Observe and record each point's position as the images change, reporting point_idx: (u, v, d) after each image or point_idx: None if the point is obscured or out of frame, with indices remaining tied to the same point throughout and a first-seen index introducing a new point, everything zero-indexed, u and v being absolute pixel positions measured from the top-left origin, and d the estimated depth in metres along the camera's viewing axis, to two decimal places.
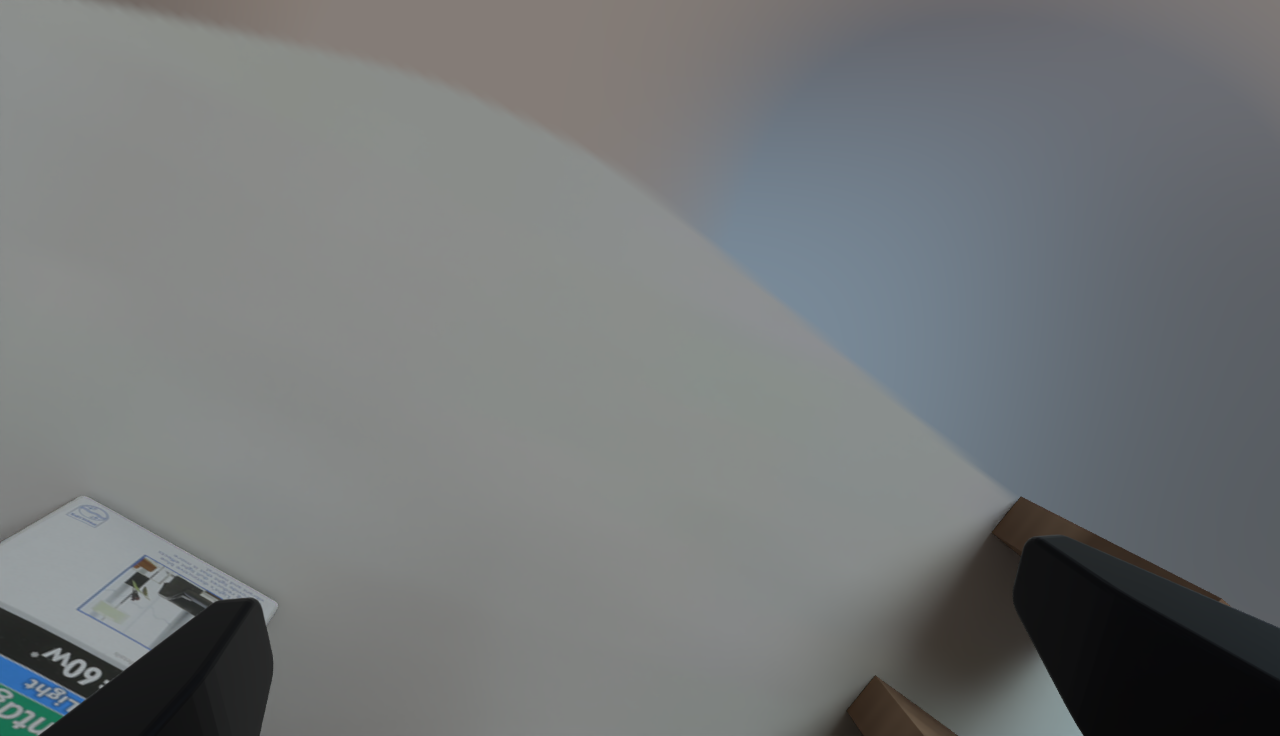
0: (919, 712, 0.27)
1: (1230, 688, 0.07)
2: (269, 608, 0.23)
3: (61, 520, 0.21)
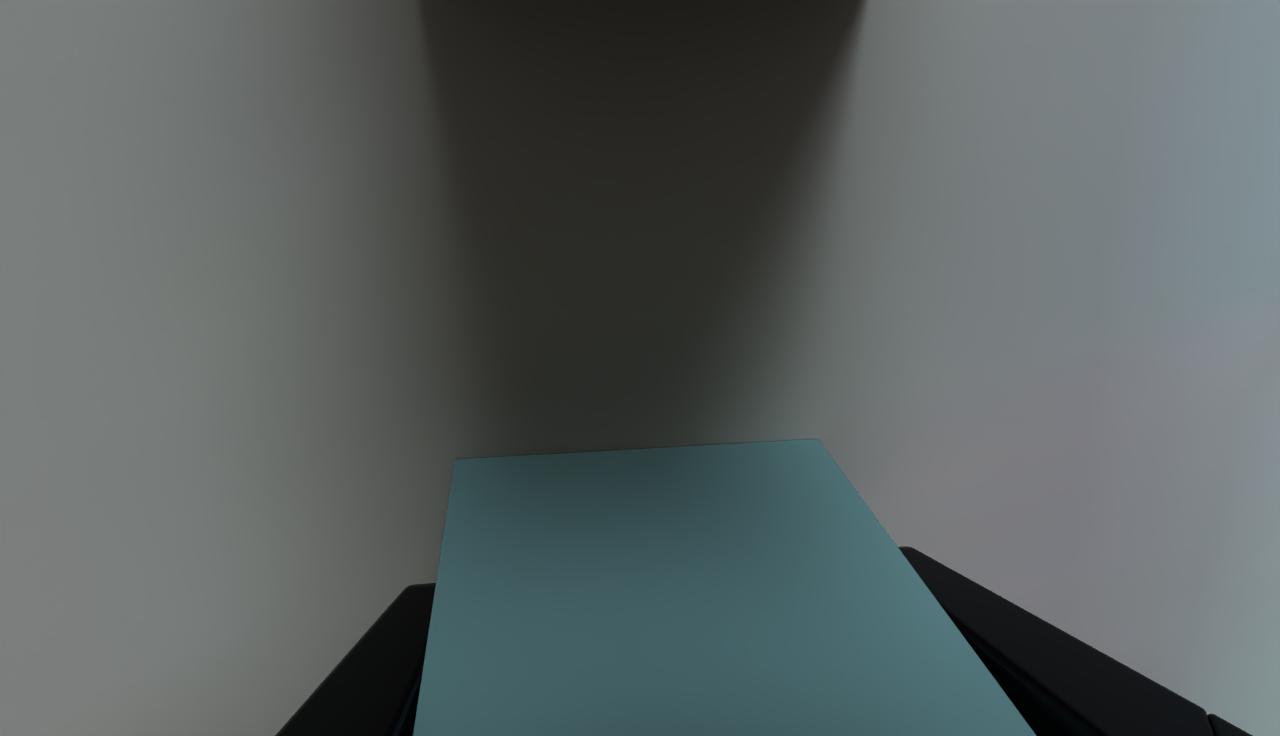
0: None
1: (1028, 711, 0.07)
2: None
3: None
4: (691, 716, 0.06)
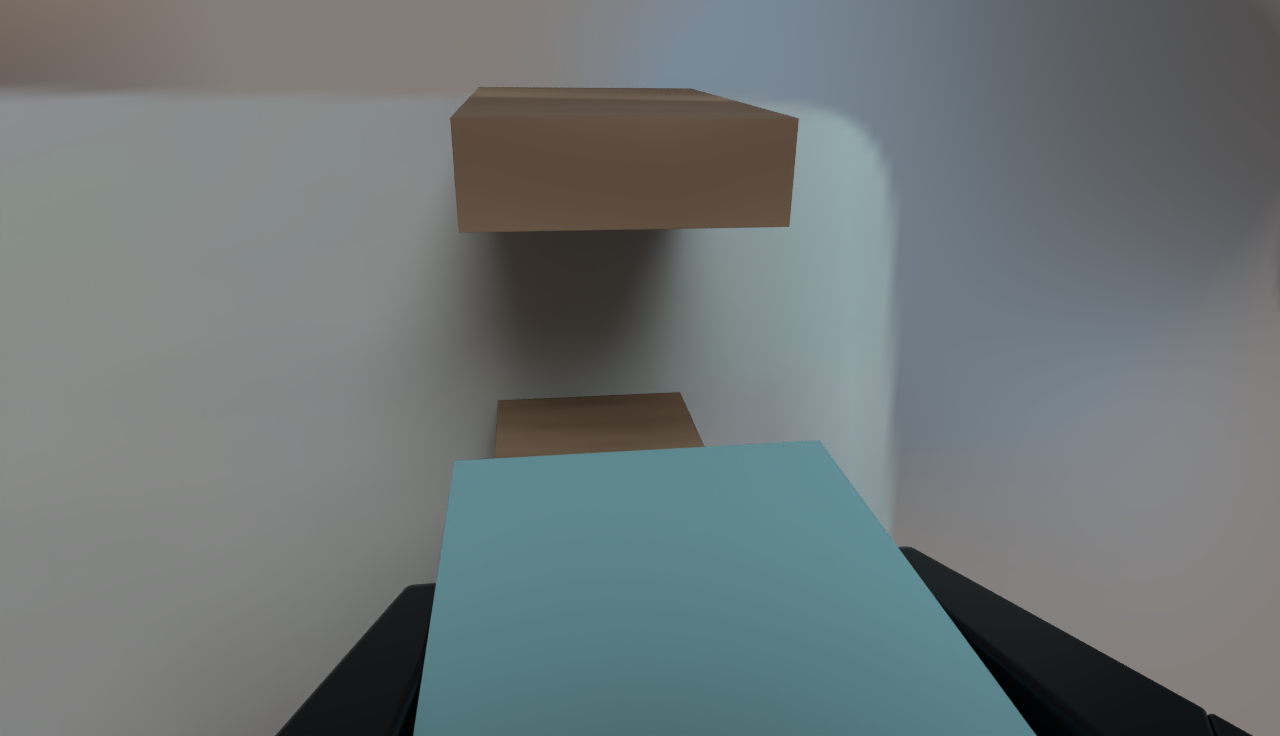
0: (561, 409, 0.21)
1: (1027, 711, 0.07)
2: None
3: None
4: (693, 719, 0.06)
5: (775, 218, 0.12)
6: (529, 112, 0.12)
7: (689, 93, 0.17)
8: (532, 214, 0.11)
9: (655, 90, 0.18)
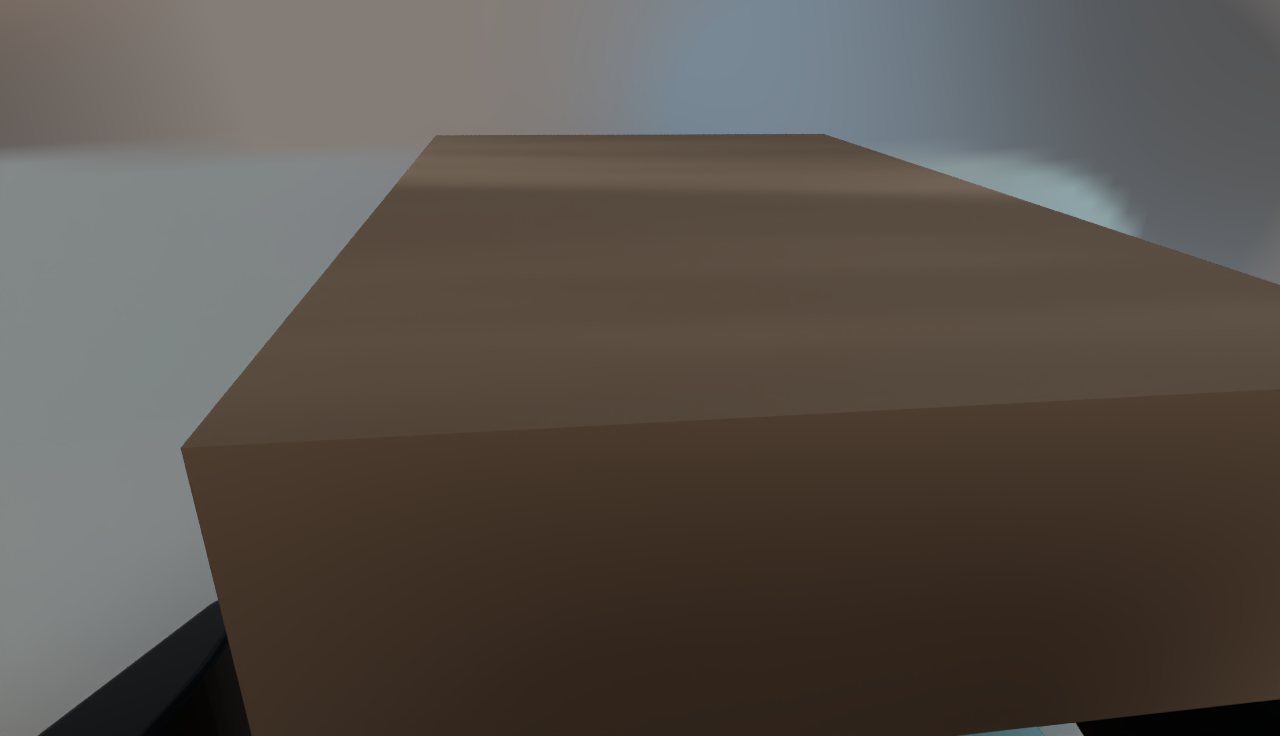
0: None
1: None
2: None
3: None
4: None
5: None
6: (536, 329, 0.03)
7: (851, 155, 0.08)
8: None
9: (770, 143, 0.09)
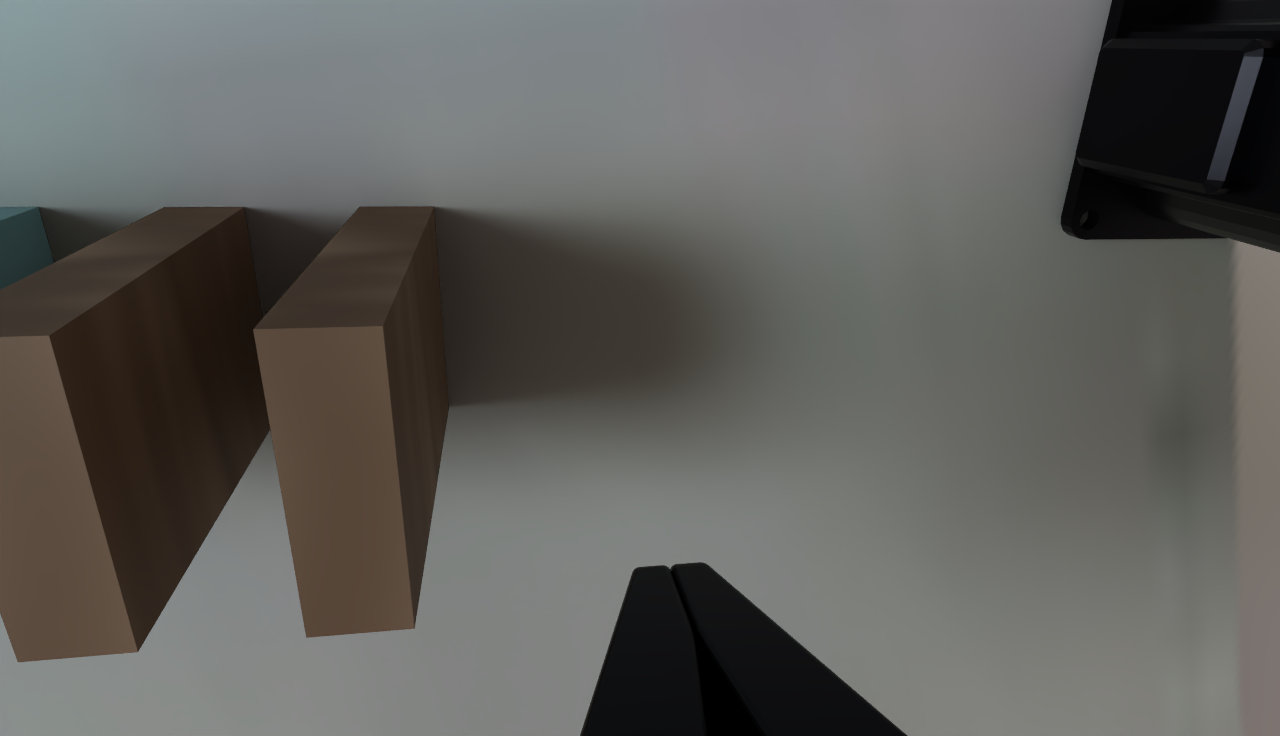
0: None
1: None
2: None
3: None
4: None
5: None
6: None
7: None
8: None
9: None
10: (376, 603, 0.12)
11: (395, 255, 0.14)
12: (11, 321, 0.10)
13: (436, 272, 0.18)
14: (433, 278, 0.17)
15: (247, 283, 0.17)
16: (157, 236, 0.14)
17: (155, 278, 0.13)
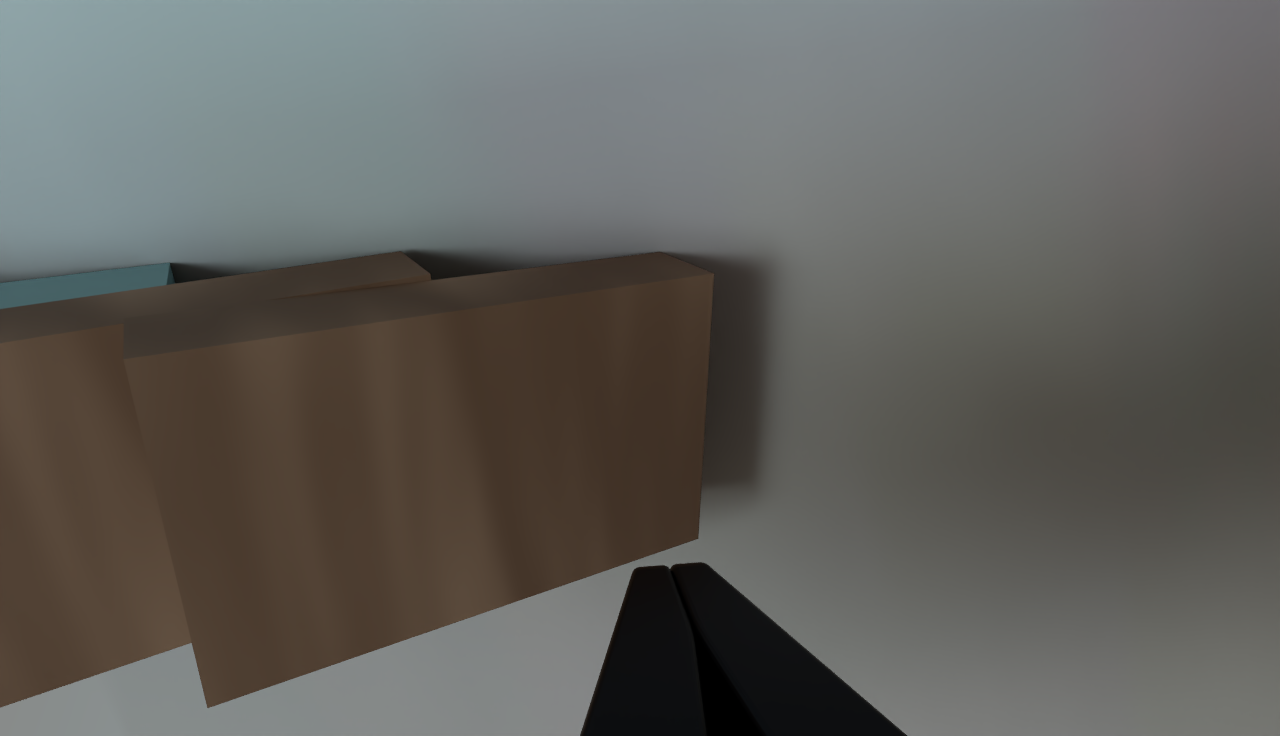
0: None
1: None
2: None
3: None
4: None
5: None
6: None
7: None
8: None
9: None
10: None
11: (441, 305, 0.11)
12: None
13: (682, 359, 0.13)
14: (643, 363, 0.12)
15: None
16: (225, 292, 0.11)
17: (42, 351, 0.10)
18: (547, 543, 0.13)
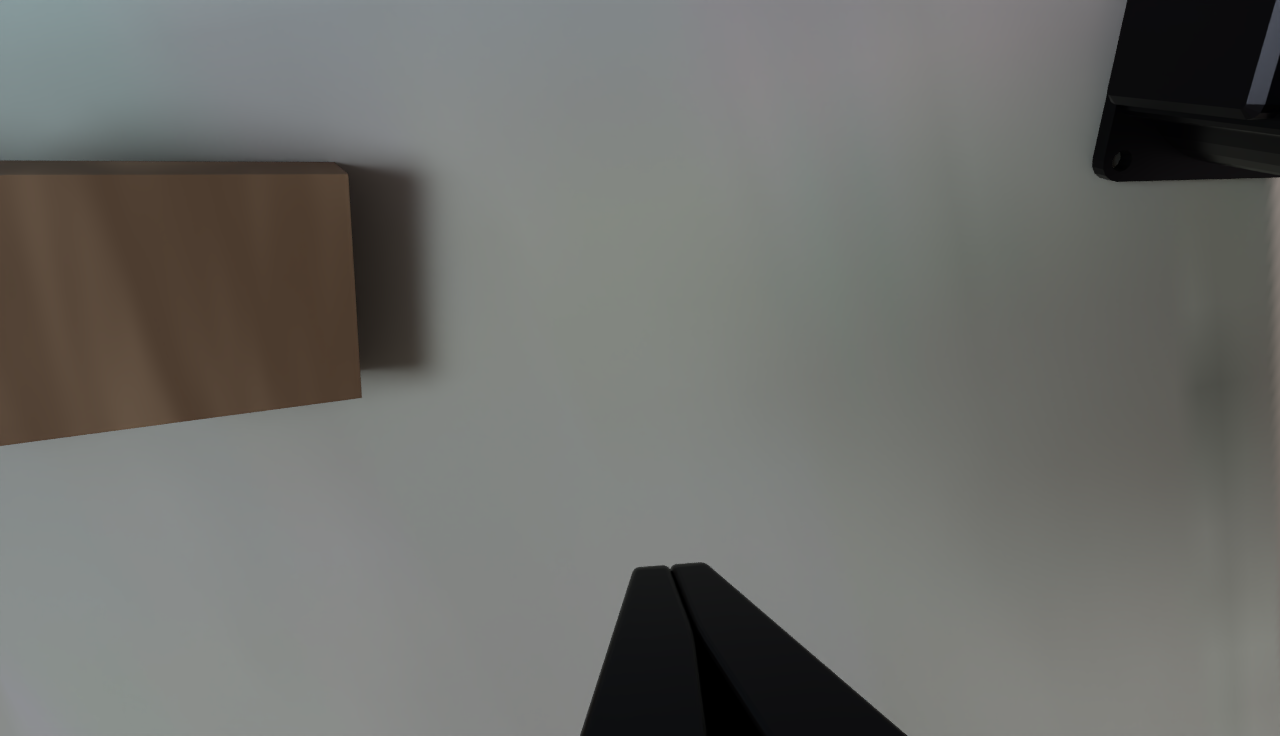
0: None
1: None
2: None
3: None
4: None
5: None
6: None
7: None
8: None
9: None
10: None
11: (91, 172, 0.14)
12: None
13: (325, 241, 0.16)
14: (286, 239, 0.16)
15: None
16: None
17: None
18: (206, 377, 0.16)
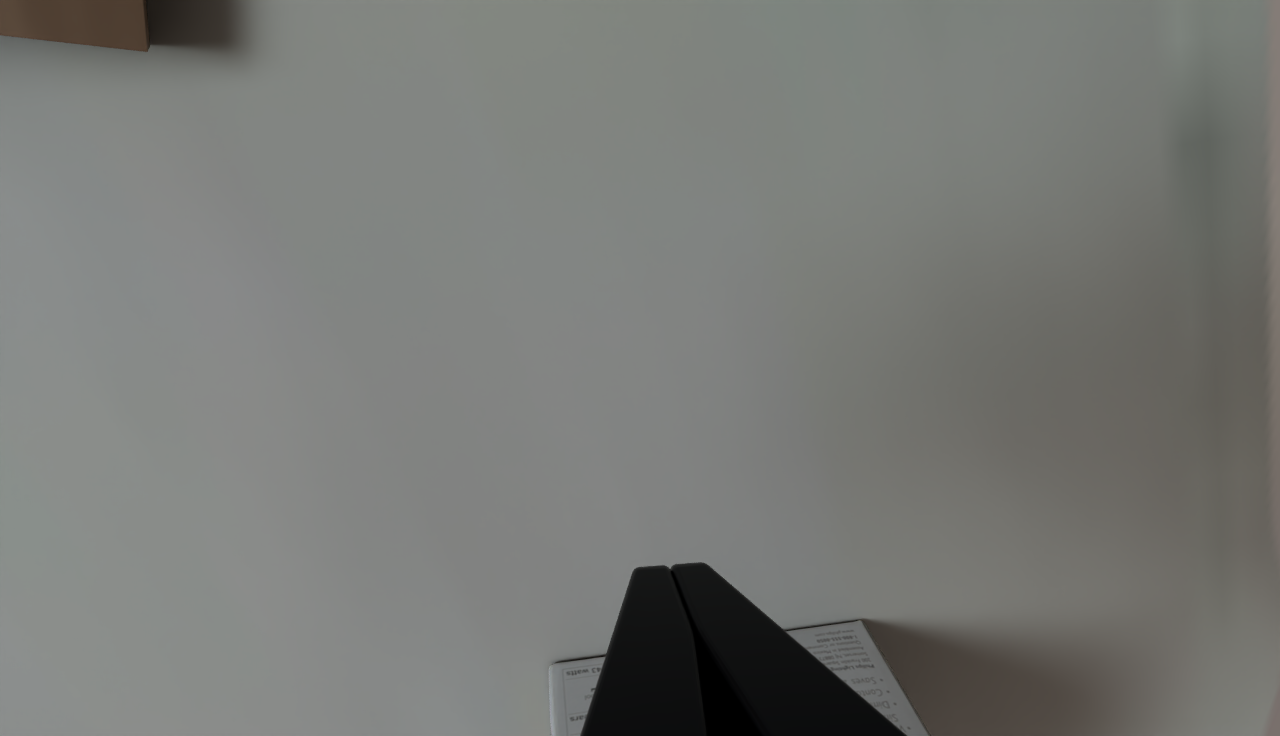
0: None
1: None
2: (549, 681, 0.24)
3: None
4: None
5: None
6: None
7: None
8: None
9: None
10: None
11: None
12: None
13: None
14: None
15: None
16: None
17: None
18: None
